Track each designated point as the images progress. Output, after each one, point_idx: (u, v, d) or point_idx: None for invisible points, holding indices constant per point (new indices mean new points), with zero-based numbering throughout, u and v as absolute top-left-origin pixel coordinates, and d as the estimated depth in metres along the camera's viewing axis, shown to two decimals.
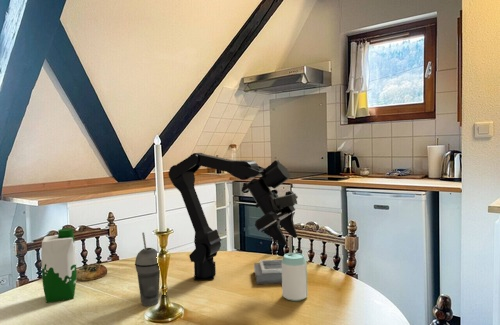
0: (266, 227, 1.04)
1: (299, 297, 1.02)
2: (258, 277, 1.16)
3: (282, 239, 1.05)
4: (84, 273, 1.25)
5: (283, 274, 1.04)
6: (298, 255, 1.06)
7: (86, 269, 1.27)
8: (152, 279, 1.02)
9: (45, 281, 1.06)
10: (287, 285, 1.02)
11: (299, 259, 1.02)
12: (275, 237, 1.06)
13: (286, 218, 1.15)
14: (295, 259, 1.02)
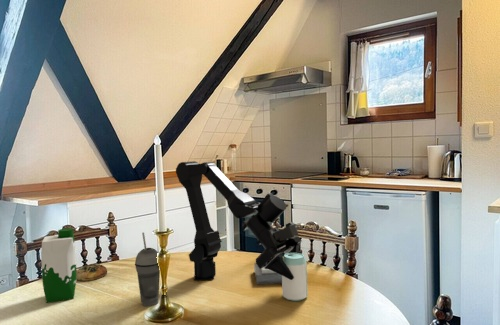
0: (268, 263, 1.01)
1: (299, 297, 1.02)
2: (258, 277, 1.16)
3: (288, 273, 1.01)
4: (84, 273, 1.24)
5: None
6: (298, 255, 1.06)
7: (86, 269, 1.26)
8: (152, 279, 1.02)
9: (45, 281, 1.06)
10: (287, 285, 1.02)
11: (299, 259, 1.02)
12: (280, 272, 1.02)
13: (291, 252, 1.10)
14: (295, 259, 1.02)
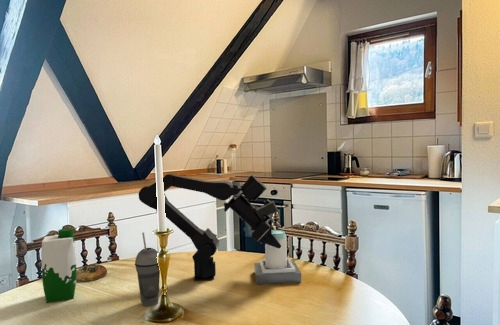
0: (262, 236, 1.14)
1: (283, 266, 1.19)
2: (258, 277, 1.16)
3: (277, 243, 1.16)
4: (84, 274, 1.24)
5: (269, 248, 1.19)
6: (277, 231, 1.23)
7: (86, 270, 1.26)
8: (152, 279, 1.02)
9: (45, 281, 1.06)
10: (274, 257, 1.18)
11: (283, 233, 1.20)
12: (270, 243, 1.16)
13: None
14: (280, 234, 1.19)
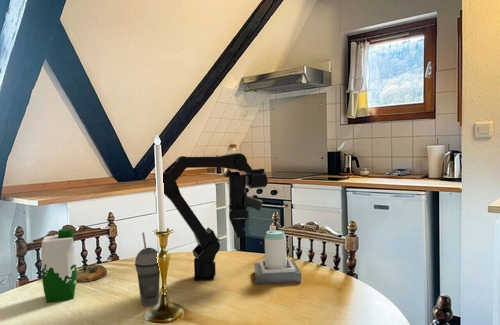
0: (236, 219, 1.20)
1: (283, 266, 1.19)
2: (258, 277, 1.16)
3: (240, 232, 1.23)
4: (83, 274, 1.24)
5: (269, 249, 1.19)
6: None
7: (85, 270, 1.26)
8: (152, 279, 1.02)
9: (45, 281, 1.06)
10: (274, 257, 1.18)
11: (282, 234, 1.20)
12: (236, 228, 1.22)
13: None
14: (280, 234, 1.19)
